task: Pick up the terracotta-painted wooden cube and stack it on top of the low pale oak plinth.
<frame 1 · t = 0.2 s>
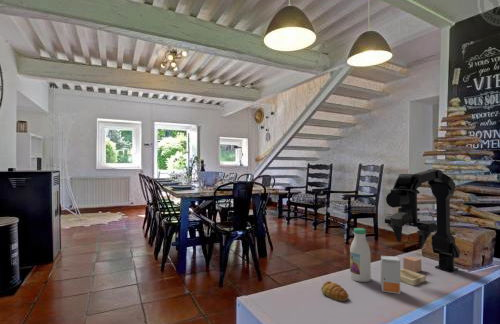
hand: (409, 244, 110), 14 cm above the table, fingers open, 9 cm apart
skincare box: (390, 291, 101), on the table
milk bottle: (360, 279, 112), on the table
plinth: (407, 279, 111), on the table
cube: (412, 269, 122), on the table
pastry: (334, 296, 98), on the table
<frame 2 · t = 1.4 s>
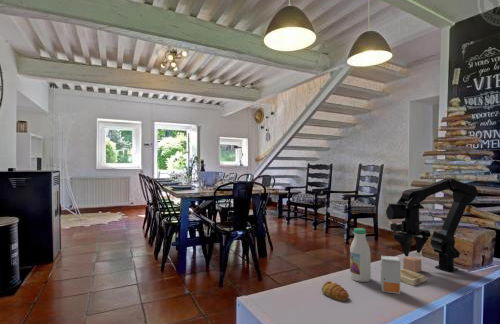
hand: (412, 254, 122), 7 cm above the table, fingers open, 9 cm apart
nothing on the table moved.
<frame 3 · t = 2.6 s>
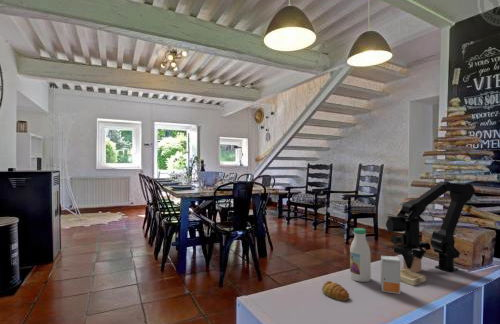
hand: (412, 267, 122), 1 cm above the table, fingers closed on cube, 5 cm apart
cube: (412, 269, 122), on the table, touching gripper
everything else where it was.
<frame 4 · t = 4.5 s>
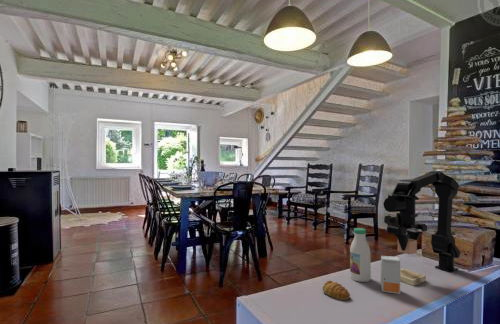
hand: (407, 249, 113), 11 cm above the table, fingers closed on cube, 5 cm apart
cube: (407, 251, 113), point 10 cm above the table, touching gripper
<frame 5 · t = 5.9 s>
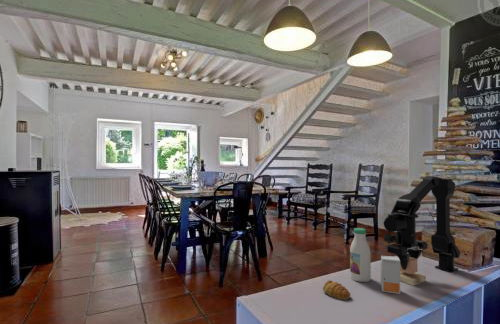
hand: (407, 268, 112), 4 cm above the table, fingers closed on cube, 5 cm apart
cube: (407, 270, 112), point 3 cm above the table, touching gripper
when the fingers open (4 cm above the table, at t = 6.7 s): cube stays where it is, resting on plinth.
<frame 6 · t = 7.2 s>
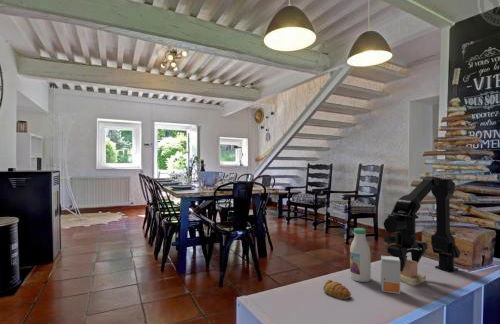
hand: (407, 269, 112), 4 cm above the table, fingers open, 9 cm apart
cube: (407, 273, 112), point 2 cm above the table, touching plinth
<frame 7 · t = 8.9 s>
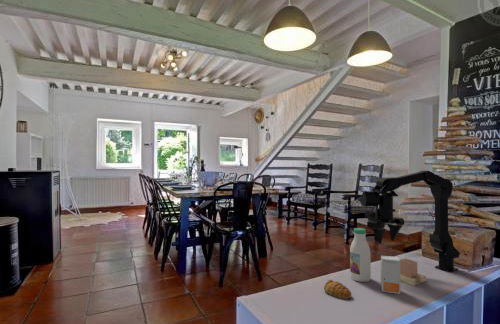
hand: (386, 242, 122), 12 cm above the table, fingers open, 9 cm apart
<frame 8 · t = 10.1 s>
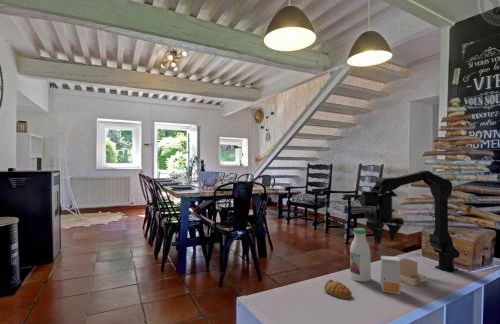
hand: (385, 242, 122), 12 cm above the table, fingers open, 9 cm apart
at the end: cube inside the target area on the plinth (0.1 cm from its centre), point 2.1 cm above the plinth's base; cube tilted 0°; the gripper is holding nothing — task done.
